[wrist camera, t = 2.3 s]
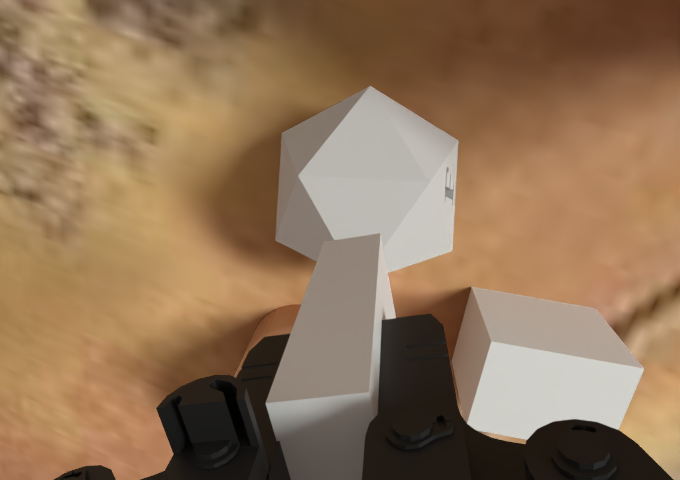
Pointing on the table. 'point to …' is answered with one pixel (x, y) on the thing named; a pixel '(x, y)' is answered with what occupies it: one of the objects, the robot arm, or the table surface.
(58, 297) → the table surface
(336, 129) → the die
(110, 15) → the table surface
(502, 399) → the grey block
